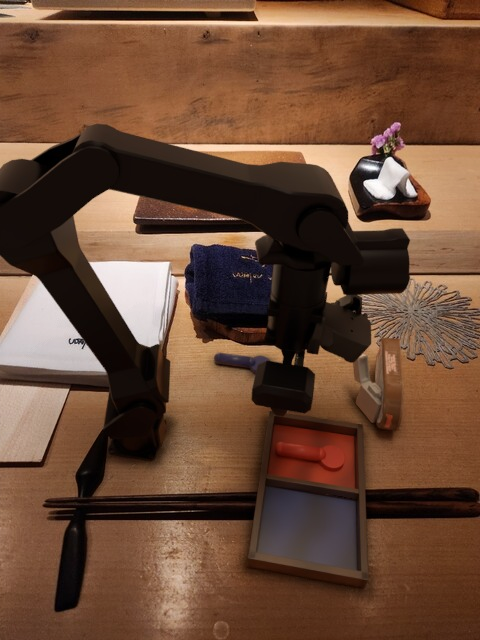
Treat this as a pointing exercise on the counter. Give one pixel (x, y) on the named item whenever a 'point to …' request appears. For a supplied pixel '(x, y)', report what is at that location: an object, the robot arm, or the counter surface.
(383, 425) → the tin
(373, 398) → the lighter
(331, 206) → the robot arm
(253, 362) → the indigo spoon
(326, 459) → the vermilion spoon
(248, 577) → the counter surface
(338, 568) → the sorting tray
